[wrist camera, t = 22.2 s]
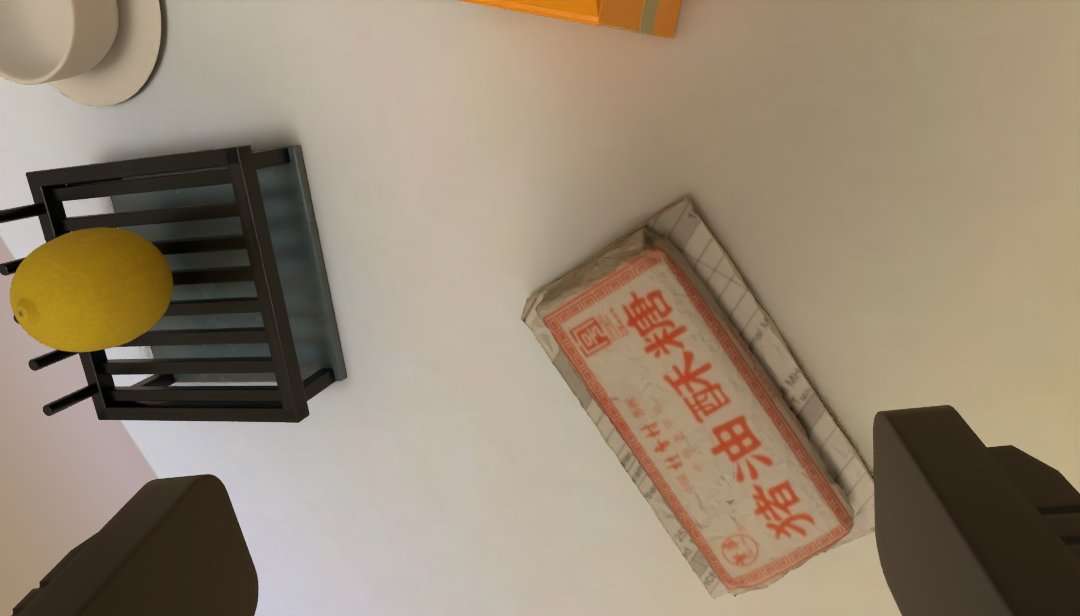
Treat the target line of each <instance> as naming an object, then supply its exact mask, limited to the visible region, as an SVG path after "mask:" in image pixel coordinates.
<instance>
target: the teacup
mask: <svg viewBox="0 0 1080 616" xmlns="http://www.w3.org/2000/svg"><path fill="white" fill-rule="evenodd" d="M160 39H161V13H160V5H159V0H0V76H2V77H3V78H5V79H7V80H10V81H12V82H15V83H19V84H26V85H33V84H40V83H46V82H49V83H50V84H51V85H52V86H53V87H54V88H55V89H56V90H58V91H59V92H60V93H62V94H63V95H65V96H66V97H68V98H70V99H72V100H74V101H77V102H79V103H82V104H85V105H90V106H111V105H115V104H118V103H120V102H123V101H125V100H127V99H128V98H130V97H131V96H133V95H134V94H135V93H136V92H137V91H138V90H139V89H140V88H141V87H142V86H143V85H144V83H145V82H146V81H147V79H148V77H149V75H150V74H151V72H152V70H153V67H154V65H155V62H156V59H157V55H158V52H159V47H160Z"/></svg>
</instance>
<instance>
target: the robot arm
mask: <svg viewBox="0 0 1080 616" xmlns="http://www.w3.org/2000/svg"><path fill="white" fill-rule="evenodd" d="M873 454H874V512H875V535H876V542H877V548H878V553H879V558H880V562H881V566H882V569H883V573H884V576H885V579H886V581H887V584H888V586H889V588H890V591H891V593H892V595H893V597H894V599H895V601H896V604H897V606H898V608H899V610H900V612H901V614H902V616H1080V494H1079V492H1078V491H1077V490H1076V489H1075V488H1074V487H1073V486H1072V485H1071V484H1070V483H1069V482H1068V481H1067V480H1066V479H1065V477H1064V476H1063V475H1062V474H1061V473H1060V472H1059V471H1057V470H1056V469H1054V468H1052V467H1050V466H1048V465H1047V464H1045V463H1043V462H1041V461H1039V460H1038V459H1036V458H1034V457H1032V456H1030V455H1028V454H1027V453H1025V452H1023V451H1021V450H1019V449H1018V448H1016V447H1014V446H1012V445H1009V446H998V447H986V446H985V445H984V444H983V443H982V441H981V440H980V439H979V438H978V436H977V435H976V434H975V433H974V432H973V430H972V429H971V428H970V427H969V425H968V424H967V423H966V422H965V421H964V419H963V418H962V417H961V416H960V415H959V413H958V412H957V411H956V410H955V409H954V408H953V407H952V406H950V405H942V406H931V407H921V408H910V409H900V410H890V411H880V412H877V414H876V416H875V419H874V425H873ZM257 602H258V578H257V573H256V570H255V567H254V564H253V561H252V558H251V556H250V553H249V550H248V547H247V545H246V542H245V539H244V536H243V534H242V531H241V528H240V525H239V523H238V520H237V517H236V515H235V512H234V509H233V506H232V504H231V501H230V498H229V495H228V493H227V490H226V488H225V486H224V484H223V483H222V482H221V480H220V479H219V478H217V477H216V476H214V475H210V474H206V475H195V476H185V477H175V478H164V479H156V480H152V481H150V482H148V483H147V484H146V485H144V486H143V487H142V488H141V489H140V490H139V491H138V492H137V493H136V494H135V495H134V496H133V497H132V498H131V499H130V500H129V501H128V502H127V503H126V504H125V505H124V507H123V508H121V510H120V511H119V512H118V513H117V514H116V515H115V516H114V517H113V518H112V519H111V520H110V521H109V522H108V523H107V524H106V525H105V526H104V527H103V528H102V529H101V530H100V531H99V532H98V533H96V534H95V535H93V536H92V537H90V538H89V539H88V540H86V541H84V542H83V543H81V544H80V545H78V546H77V547H76V548H74V549H73V550H71V551H70V552H69V553H68V554H67V555H66V556H65V557H64V558H63V559H62V560H61V561H60V562H59V563H58V564H57V565H56V566H55V567H54V568H53V569H52V570H51V571H50V572H49V573H48V574H47V575H46V576H45V577H44V578H43V579H42V580H41V581H40V587H39V588H37V589H32V590H31V591H30V592H29V593H28V594H27V595H26V596H25V597H24V599H22V600H21V602H19V603H18V604H17V606H16V607H14V608H13V615H12V616H254V614H255V611H256V607H257Z"/></svg>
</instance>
